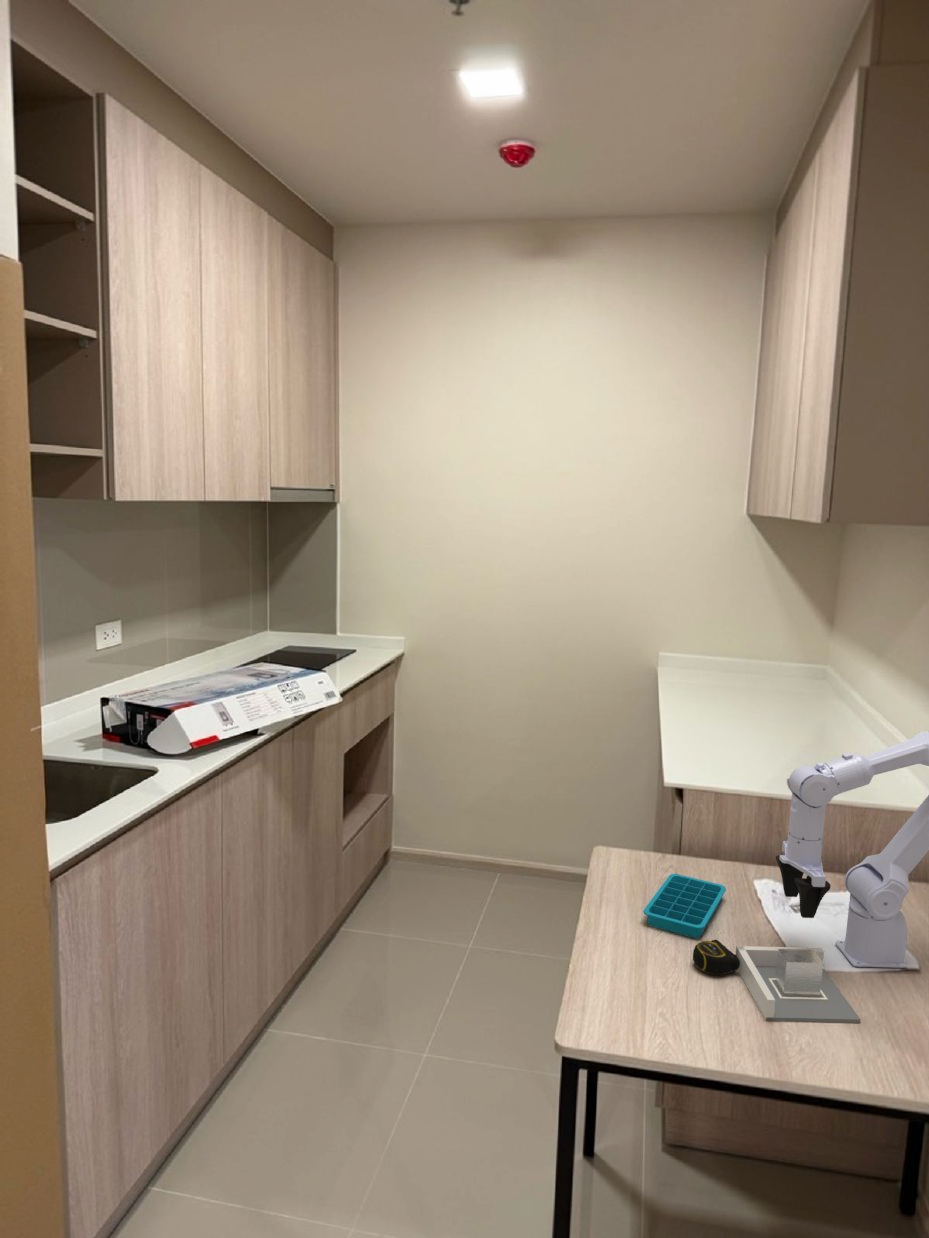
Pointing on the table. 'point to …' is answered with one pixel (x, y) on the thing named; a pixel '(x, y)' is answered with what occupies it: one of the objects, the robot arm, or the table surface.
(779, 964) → the aluminium block
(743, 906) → the table surface
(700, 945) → the tape measure
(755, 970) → the tray
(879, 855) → the robot arm
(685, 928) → the ice cube tray
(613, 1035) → the table surface
